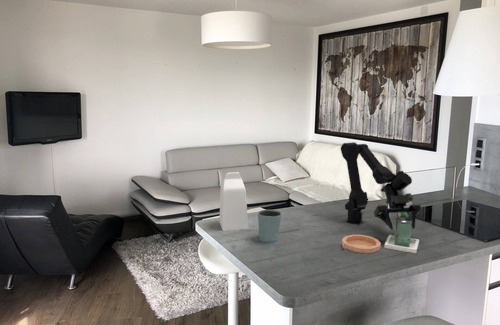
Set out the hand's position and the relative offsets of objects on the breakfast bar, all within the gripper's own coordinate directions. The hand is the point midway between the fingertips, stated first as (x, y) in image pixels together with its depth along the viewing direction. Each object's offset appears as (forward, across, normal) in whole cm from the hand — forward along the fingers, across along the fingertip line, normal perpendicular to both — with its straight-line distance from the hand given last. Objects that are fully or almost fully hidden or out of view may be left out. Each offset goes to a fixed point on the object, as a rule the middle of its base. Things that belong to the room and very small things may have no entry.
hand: (403, 229), depth 164 cm
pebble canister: (+5, 0, +5) cm, 7 cm away
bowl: (+5, -17, +6) cm, 19 cm away
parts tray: (+6, 0, +6) cm, 8 cm away
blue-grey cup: (-4, -54, +16) cm, 56 cm away
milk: (-17, -68, +28) cm, 76 cm away
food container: (-17, +16, +28) cm, 37 cm away
